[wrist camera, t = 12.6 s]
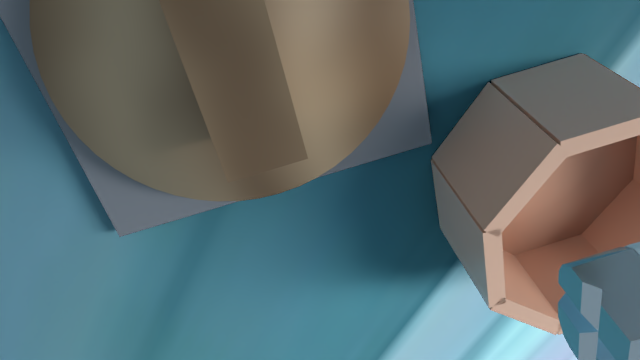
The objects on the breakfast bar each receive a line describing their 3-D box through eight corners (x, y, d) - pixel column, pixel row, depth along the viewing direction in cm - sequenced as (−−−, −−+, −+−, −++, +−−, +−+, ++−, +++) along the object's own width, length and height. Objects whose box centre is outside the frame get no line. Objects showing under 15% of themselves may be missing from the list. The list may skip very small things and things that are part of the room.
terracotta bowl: (648, 33, 27) (751, 83, 22) (630, 215, 33) (708, 287, 28) (422, 100, 27) (477, 166, 22) (446, 272, 33) (492, 355, 28)
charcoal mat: (375, -243, 20) (380, -244, 19) (427, 137, 28) (431, 143, 27) (-68, -123, 19) (-75, -121, 19) (120, 229, 27) (119, 236, 27)
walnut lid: (370, -220, 19) (416, -226, 16) (421, 138, 27) (460, 191, 23) (-47, -106, 19) (-104, -85, 15) (127, 225, 27) (118, 295, 23)
